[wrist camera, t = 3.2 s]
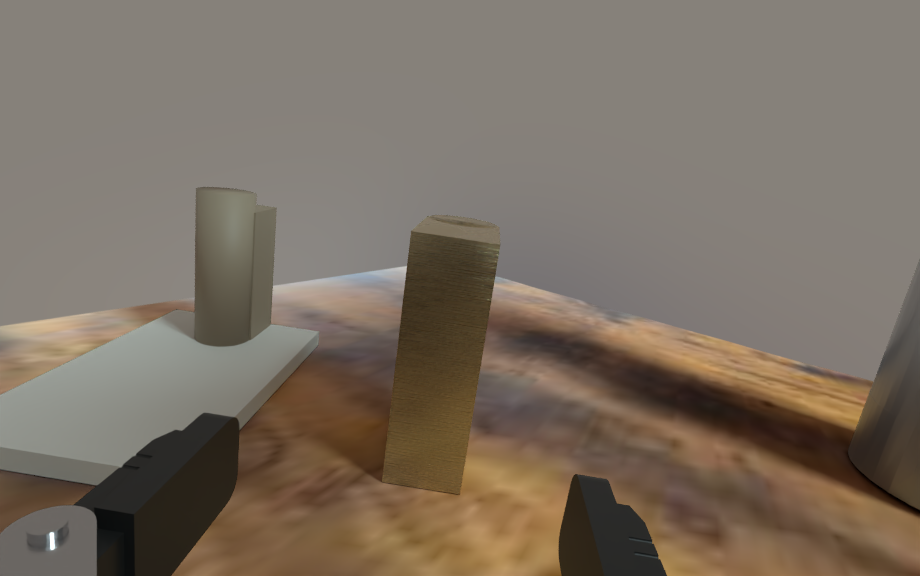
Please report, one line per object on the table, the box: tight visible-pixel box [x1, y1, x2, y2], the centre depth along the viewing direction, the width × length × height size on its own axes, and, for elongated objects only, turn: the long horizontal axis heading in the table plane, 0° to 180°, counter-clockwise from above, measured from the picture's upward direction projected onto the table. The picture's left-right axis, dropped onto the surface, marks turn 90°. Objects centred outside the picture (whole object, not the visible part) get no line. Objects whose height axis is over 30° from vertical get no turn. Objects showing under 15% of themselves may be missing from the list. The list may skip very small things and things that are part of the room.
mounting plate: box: [0, 187, 319, 485], centre depth 27 cm, size 16×10×10 cm, turn 176°
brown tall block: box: [382, 215, 500, 495], centre depth 24 cm, size 7×3×11 cm, turn 176°
